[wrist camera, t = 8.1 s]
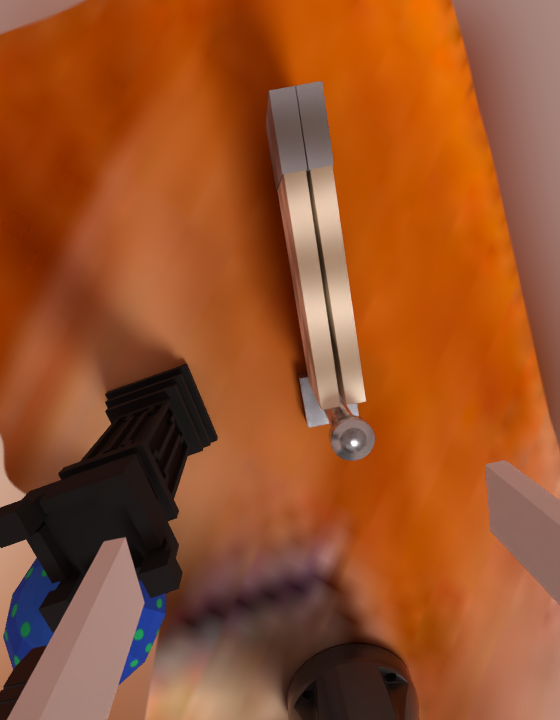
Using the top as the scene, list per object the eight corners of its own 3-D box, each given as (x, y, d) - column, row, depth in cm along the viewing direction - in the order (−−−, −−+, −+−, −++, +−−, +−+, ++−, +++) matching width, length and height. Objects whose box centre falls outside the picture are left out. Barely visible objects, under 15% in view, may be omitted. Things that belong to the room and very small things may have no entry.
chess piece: (186, 363, 40) (126, 464, 21) (217, 437, 42) (188, 592, 22) (107, 391, 40) (-27, 517, 21) (142, 463, 42) (48, 640, 23)
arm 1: (346, 375, 39) (367, 401, 32) (328, 379, 39) (345, 405, 32) (307, 117, 34) (322, 81, 27) (286, 121, 34) (295, 85, 27)
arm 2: (325, 380, 39) (342, 406, 32) (307, 383, 39) (320, 410, 32) (286, 121, 34) (295, 85, 27) (265, 124, 34) (268, 90, 27)
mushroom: (70, 737, 40) (-43, 752, 28) (56, 586, 48) (-35, 550, 37) (210, 659, 42) (159, 644, 31) (173, 529, 51) (123, 478, 39)
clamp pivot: (355, 412, 42) (390, 464, 32) (306, 421, 42) (324, 477, 31) (348, 364, 41) (382, 402, 30) (297, 374, 41) (314, 415, 30)
